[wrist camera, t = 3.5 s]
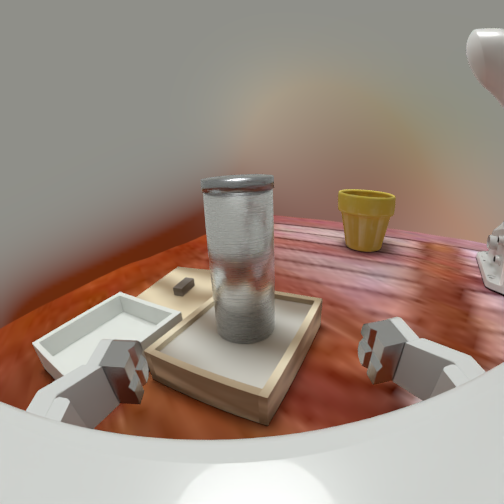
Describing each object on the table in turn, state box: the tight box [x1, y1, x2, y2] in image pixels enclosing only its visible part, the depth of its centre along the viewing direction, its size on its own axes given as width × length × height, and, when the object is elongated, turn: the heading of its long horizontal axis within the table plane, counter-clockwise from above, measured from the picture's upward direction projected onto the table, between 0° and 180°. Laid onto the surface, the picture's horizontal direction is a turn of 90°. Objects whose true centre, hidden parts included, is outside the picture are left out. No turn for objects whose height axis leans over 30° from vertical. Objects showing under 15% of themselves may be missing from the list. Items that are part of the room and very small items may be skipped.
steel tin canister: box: [201, 174, 275, 344], centre depth 21 cm, size 5×5×12 cm
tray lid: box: [136, 267, 213, 319], centre depth 33 cm, size 13×10×2 cm
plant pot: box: [338, 189, 395, 252], centre depth 47 cm, size 10×10×10 cm
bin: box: [32, 292, 183, 380], centre depth 22 cm, size 12×9×3 cm
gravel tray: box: [144, 291, 322, 426], centre depth 23 cm, size 13×10×3 cm
